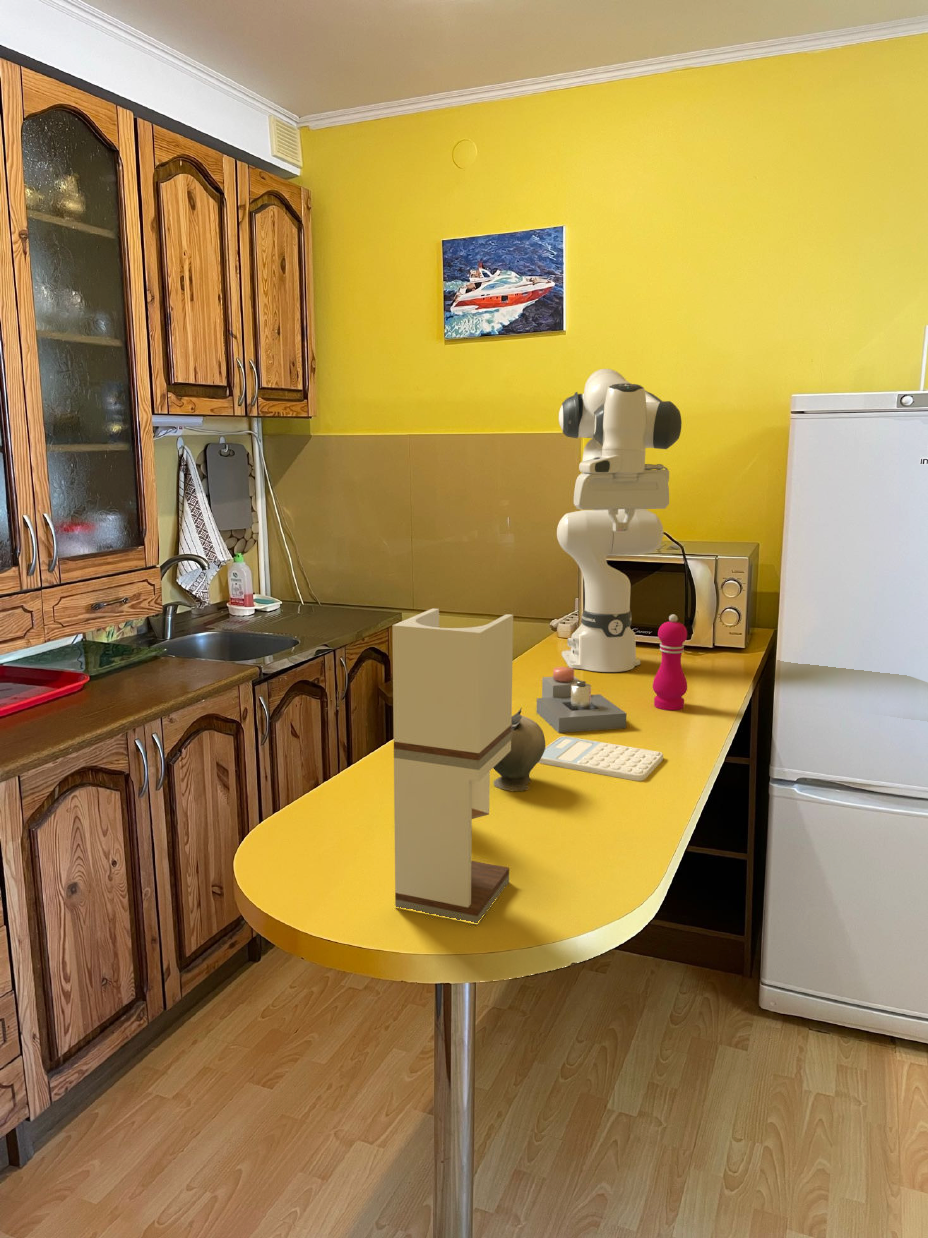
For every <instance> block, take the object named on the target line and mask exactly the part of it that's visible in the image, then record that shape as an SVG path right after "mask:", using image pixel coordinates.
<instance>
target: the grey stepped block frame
mask: <svg viewBox="0 0 928 1238" xmlns="http://www.w3.org/2000/svg"><path fill="white" fill-rule="evenodd" d="M577 681H581V680H580V679H579V678H577V677H576V676H575V675H574V680H571V681H557V680H554V679H553V676H543V677H542V680H541V682H542V689H541V690H542V691H541V692H542V693H541V697H539V698H537V697H536V713H537V715H539V716H540V717H541V718H542V719H544V720H545V722H546V723H547V724H548V725H549V726H551V727H552V728H553V729H554V730H555V731H556V732H557V733H559V734H560V733H562V734H563V733H573V732H574V733H576V732H591V731H602V730H603V731H604V730H616V729H626V728H627V712H625V711H624V710H623V709H621V708H620V707H619V706H617V705H616V704H614V703H613V702H611V701H610V700H608V699H607V698H606V697H604V696H603V695H602V694H597V693H596V694H591V705H590V710H576V711H571V710H570V707H571V685H572V684H575V683H577Z"/></svg>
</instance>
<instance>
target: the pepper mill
mask: <svg viewBox="0 0 928 1238" xmlns="http://www.w3.org/2000/svg"><path fill="white" fill-rule="evenodd" d="M668 620H669V621H666V622H663V623H661V625H660V626H659V628H658V631H657V637H658V639H659V640H660V644H659V651H660V652H661V662H660V666H659V668H658V670H657V672H656V674H655V676H654V678H653V681H652V690H653V692H654V693H655V694H656V695H655V696H654V699H653V706H654V707H655V708H656V709H660V710H664V711H678V710H679V711H680V710H682V709H684V707H685V698H684V697H683V696H684V695H686V693H687V691H688V682H687V678H686V676H685V674H684V671H683V667H682V654H683V653H684V651H685V650H684V647H685V645H684V644H683V643H684V642H685V641H686V640H687V638H688V630H687V627H686V626H685V625H684V624H683V623H681V622H678V616H677V615H676V614H670V615H669V616H668Z"/></svg>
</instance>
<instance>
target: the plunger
mask: <svg viewBox="0 0 928 1238" xmlns="http://www.w3.org/2000/svg"><path fill="white" fill-rule="evenodd" d="M574 676H575V668H570V667H569V666H557V667H554V668H553V671H552V677H553V679H554V680H557V681H571V680H574Z"/></svg>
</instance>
